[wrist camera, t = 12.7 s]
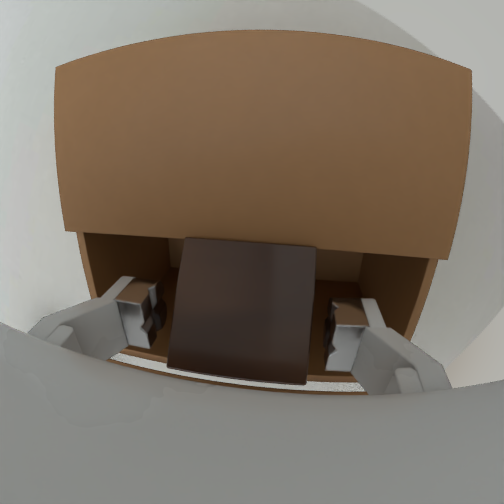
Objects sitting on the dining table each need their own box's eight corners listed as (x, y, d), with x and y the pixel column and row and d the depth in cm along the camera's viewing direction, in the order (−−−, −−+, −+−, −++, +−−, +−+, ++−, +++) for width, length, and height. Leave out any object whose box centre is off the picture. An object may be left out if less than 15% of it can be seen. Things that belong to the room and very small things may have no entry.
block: (317, 246, 10) (306, 386, 8) (304, 275, 14) (296, 371, 13) (184, 236, 10) (165, 367, 9) (211, 267, 14) (199, 360, 13)
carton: (385, 91, 17) (473, 68, 6) (361, 284, 23) (395, 393, 13) (160, 84, 18) (54, 65, 8) (168, 268, 25) (100, 358, 14)
